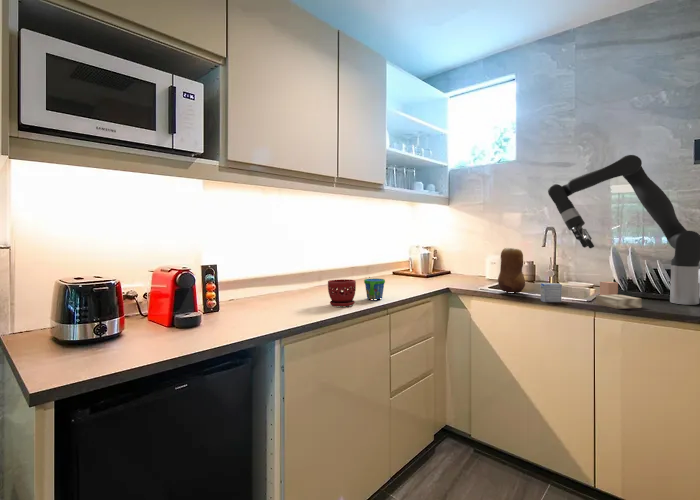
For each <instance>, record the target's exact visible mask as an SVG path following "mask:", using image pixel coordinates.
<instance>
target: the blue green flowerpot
mask: <svg viewBox="0 0 700 500" xmlns="http://www.w3.org/2000/svg"><path fill="white" fill-rule="evenodd" d="M363 283H364V284H365V285H364V286H365V292H366V299H367V300H368V299H380V298H382V299H383V295H384V286H385V283H386V281H385V279H384V278H366V279H364V280H363Z"/></svg>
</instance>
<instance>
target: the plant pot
mask: <svg viewBox="0 0 700 500" xmlns="http://www.w3.org/2000/svg"><path fill="white" fill-rule="evenodd" d="M356 283H357V282H356V280H355V279H350V278H349V279H345V278H343V279H331V280H327V291H328V296H329V298H330V301H329V303H330V305H331V306H332V305H333V307H335V306H348V307H351V306H350V305H352V306H353V305H354V304H355V300H354V298H355V296H356V288H357V285H356Z"/></svg>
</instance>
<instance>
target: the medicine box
mask: <svg viewBox="0 0 700 500" xmlns="http://www.w3.org/2000/svg"><path fill="white" fill-rule="evenodd" d="M562 287H563V286H562V284H561V283H559V282H558V283H557V282H548V283H547V282H545V283H544V282H542V283H540V301H541V302H543V303H562V294H563V293H562V292H563V291H562V289H563V288H562Z"/></svg>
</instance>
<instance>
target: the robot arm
mask: <svg viewBox="0 0 700 500" xmlns="http://www.w3.org/2000/svg"><path fill="white" fill-rule="evenodd" d="M642 164H643V163H642V159H641V158H640V157H639V156H637V155H634V154H627V155H625V156H622V157H620V158H619V160H616V161H615V162H613V163H610V164H609V165H607V166H603V167H601V168H600V169H597V170H593V171H591V172H588V173H584V174H582V175H579V176H577V177H575V178H571V179H570V180H569V181H568V182H567V183H565V184H562V185H560V184H557V183H556V184H554V183H553V184H552V185H550V186H549V187H548V189H547V193H548V196H549V198H550V199H551V200H552V202H553V203H554V205H555V206H556V209H557V211H558V212H559V214H560V216H561V219H562V220H563V222H564V224H565V225H566V228H567V229H568V230H569V231H571V232H572V234H573V237H575V239H576V240H578V242H580V245H581V246H582V248H587V247H588V249H593V248H595V244H594V243H593V241H592V237H591V235H590V233H589V232H588V231H587V229H586V228H584V227H583V226H584V225H585V223H586V222H585V220H584V219H583V217H582V216H581V214H580V213H579V211H578V210H577V208H576V207H575V205H574V203H573V202H572V201H571V200H570V198H569V197H570V196H571V195H573V194H575V193H578V192H579V191H580V192H581V191H584V190H586V189H589V188H591V187H594V186H597V185H598V184H601V183H603V182H605V181H608V180H612V179H615V178H619V177H622V178H624V180H625V181H627V182H628V184H629V185H630V186H631V188H632V190H633V191H634V193H635V195H636V197H637V198H638V200H639V202H640V204H641V205H642V206H643V208H644V209H645V210H646V212H647V213H648V214H649V215H650V217H651V218H652V219H653V221H654V222H655V223H656V224H657V225H658V227H659V228H660V229H661V231H662V233H663V235H664V236H665V238H666V240H667V243H668V244H669V246H670V247H671V248H673V249H674V256H673V258H672V259H671V260H670V262H671V263H670V288H669V289H670V290H669V291H670V293H669V294H670V295H669V302H670V303H673V304H679V305H686V306H690V305H691V306H696V305H699V304H700V282H699V266H700V265H699V264H700V234H699V233H698V232H696V231H695V230H694V231H693V230H687V229H686V228H685V227H684V226H683V225H682V224H681V222H680V220H679V219H678V217H677V215H676V214H677V213H676V212H675V208H674V206H673V203H672V201H671V200H670V198H669V197H668V195H667V194H666V193H665V192H664V191H663V190H662V189H661V188H660V187H659V186H658V184H657V183H656V182H654V181H653V180H652V179H651V178H650V177H649V176H648V174H647V173H646V171H645V170H644V168H643V167H642Z"/></svg>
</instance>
